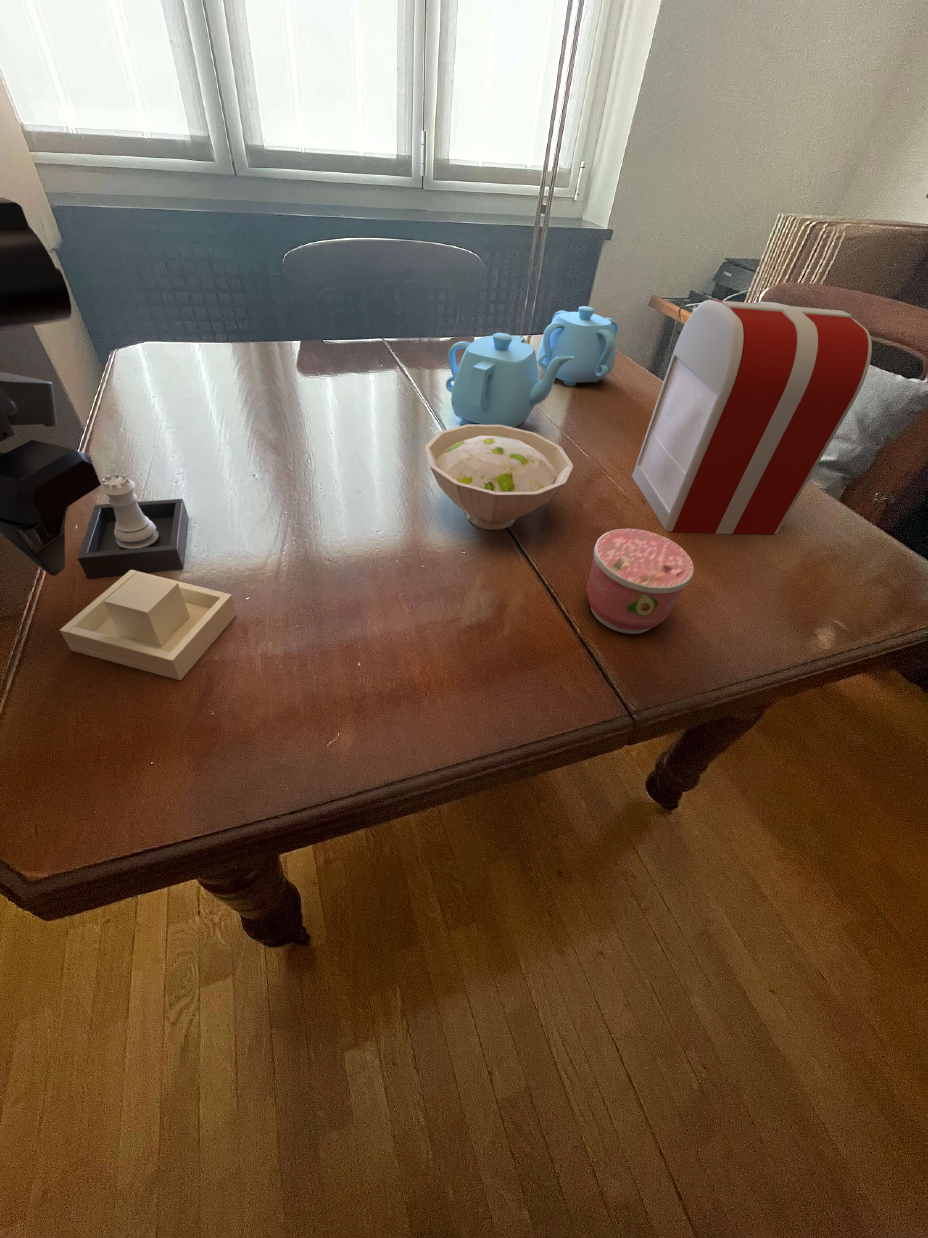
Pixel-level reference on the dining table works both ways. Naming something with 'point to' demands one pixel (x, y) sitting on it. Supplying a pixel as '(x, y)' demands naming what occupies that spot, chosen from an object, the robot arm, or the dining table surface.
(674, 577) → the container
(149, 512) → the charcoal tray
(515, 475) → the bowl
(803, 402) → the red striped display case
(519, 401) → the teapot
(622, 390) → the dining table surface
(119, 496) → the rook chess piece
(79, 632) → the cream tray
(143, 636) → the cream block
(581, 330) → the decorative pot
